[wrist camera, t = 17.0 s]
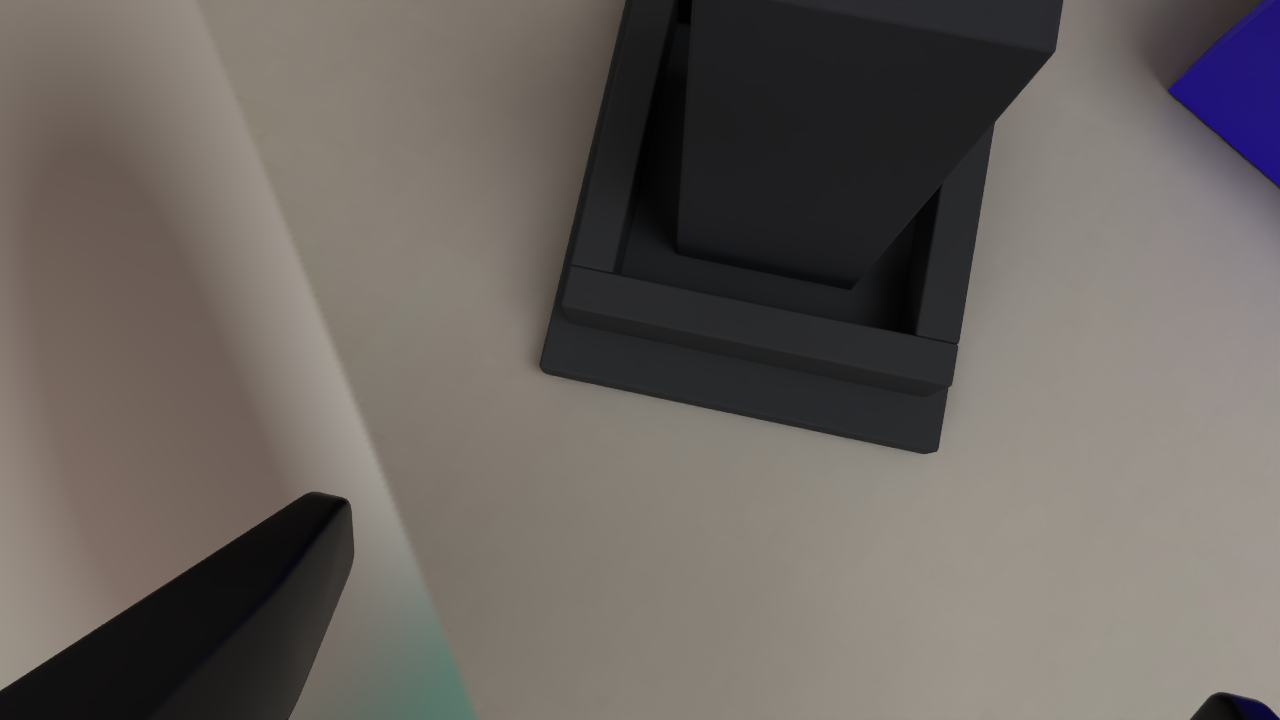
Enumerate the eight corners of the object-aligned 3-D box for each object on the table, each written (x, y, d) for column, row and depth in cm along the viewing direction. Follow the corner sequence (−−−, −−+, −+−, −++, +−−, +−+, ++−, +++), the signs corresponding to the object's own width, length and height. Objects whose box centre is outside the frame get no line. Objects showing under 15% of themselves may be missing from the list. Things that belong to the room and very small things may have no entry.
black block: (851, 291, 23) (1057, 52, 11) (675, 254, 23) (692, -16, 11) (885, 106, 24) (1112, -300, 12) (714, 74, 24) (769, -356, 12)
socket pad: (926, 455, 23) (966, 446, 20) (543, 373, 24) (526, 353, 21) (997, 25, 25) (1043, -40, 22) (641, -42, 26) (638, -114, 23)
